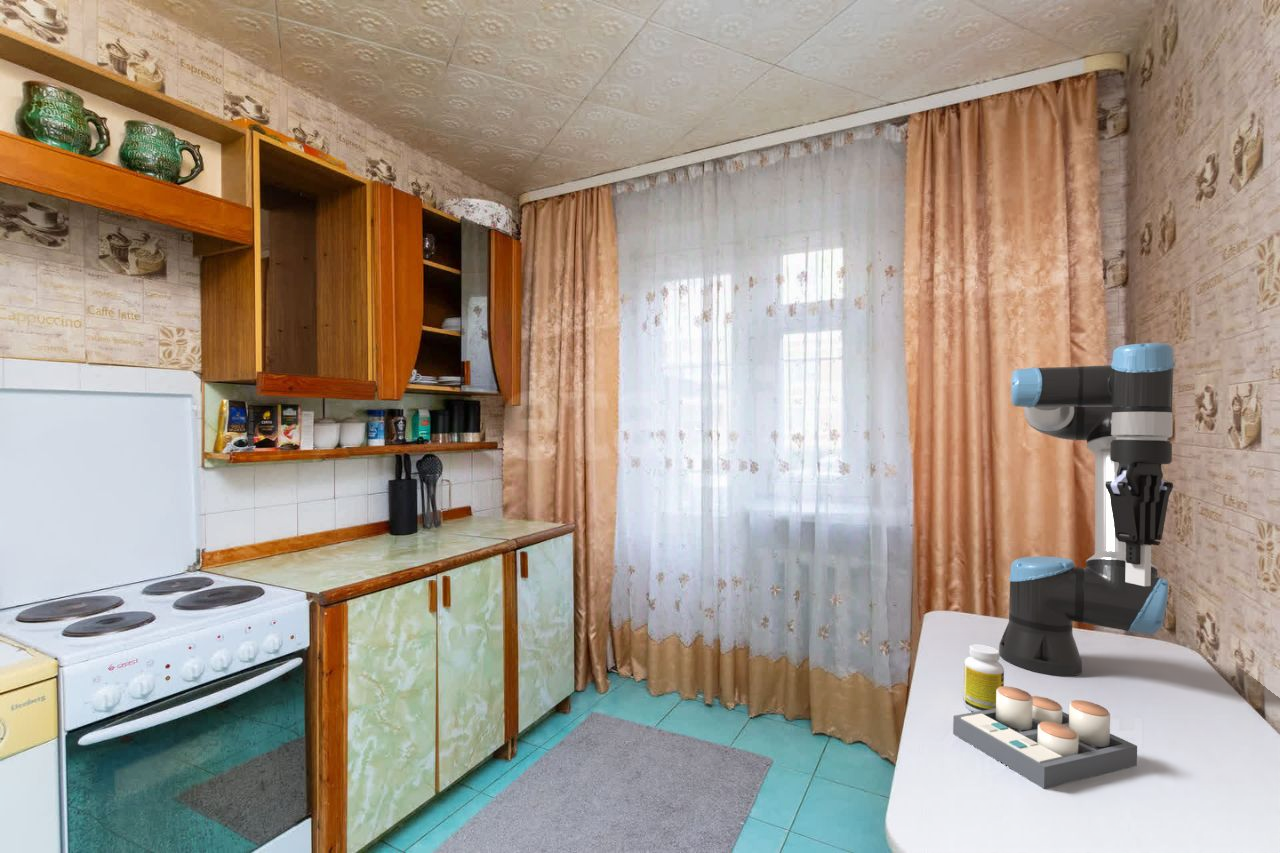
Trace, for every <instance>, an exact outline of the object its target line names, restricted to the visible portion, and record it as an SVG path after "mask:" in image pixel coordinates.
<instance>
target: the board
mask: <svg viewBox="0 0 1280 853" xmlns="http://www.w3.org/2000/svg"><path fill="white" fill-rule="evenodd" d="M952 722H953V725H952V726H953V728H952V729H953V730H952V734H953V735H954V736H956V737H957V738H959V739H961V740H962V741H964V742H965V743H968V745H969V744H970V745H971V746H972V745H973V747H974V748H975V749H978V750H979V751H981V752H983V753H984V754H986V755H988V756H989V757H991V758H992V757H993V758H992V759H994V758H995V759H994V760H996V761H997V760H998V762H999V761H1000V762H999V763H1001V762H1002V763H1003V764H1002V763H1001V764H1002V765H1004V764H1005V765H1004V766H1006V765H1007V766H1008V767H1007V766H1006V767H1007V768H1009V769H1010V770H1012V771H1014V772H1016V773H1017V774H1019V775H1021V776H1022V777H1024V778H1026V779H1027V780H1029V781H1031V782H1032V783H1034V784H1036V785H1037V786H1039V787H1040V788H1042V789H1044V790H1045V789H1048V788H1053V787H1057V786H1060V785H1064V784H1068V783H1072V782H1077V781H1080V780H1086V779H1090V778H1093V777H1097V776H1101V775H1104V774H1105V775H1106V774H1109V773H1112V772H1117V771H1121V770H1126V769H1129V768H1132V767H1137V766H1138V745H1136V744H1135V743H1132V742H1130V741H1128V740H1126V739H1123V738H1121V737H1119V736H1116V735H1115V734H1112V733H1110V744H1109V746H1106V747H1099V746H1093V745H1089V744H1086V743H1083V742H1081V741H1078V754H1076V755H1072V756H1067V757H1063V756H1061V755H1059V754H1057V753H1056V752H1054V751H1052V750H1050V749H1048V748H1046V747H1044V746H1042V745H1040V744H1039V743H1037V737H1038V724H1040V723H1041V722H1039V721H1037V720H1035V719H1033V718H1032V728H1031V729H1029V730H1020V729H1015V728H1011V727H1008V726H1006V725H1004V724H1002V723H1000V722H999V721H998V720H997V719H996V708H995V709H990V710H984V711H978V712H972V711H971V712H967V713H962V714H956V715H953V721H952ZM1062 725H1064V726H1067V727H1069V713H1067V712H1065V711H1063V715H1062Z"/></svg>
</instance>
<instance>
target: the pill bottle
mask: <svg viewBox="0 0 1280 853" xmlns="http://www.w3.org/2000/svg"><path fill="white" fill-rule="evenodd" d="M999 654H1000V653H999V649H996V648H995V647H992V646H988V645H985V644H977V643H974V644H971V645H969V655H970V656H968V657H966V658H965V660H964V664H963V670H964V672H963V705H964V707H965V708H966V709H968V710H969V711H970V712H971V713H972V712H978V711H984V710H990V709H995V708H996V690H997V689H998V687H1001V686H1005V685H1004V684H1005V669H1004V666H1003V665H1002V663H1000V662H999V660H1000V658H1001V656H1000V655H999Z"/></svg>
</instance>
